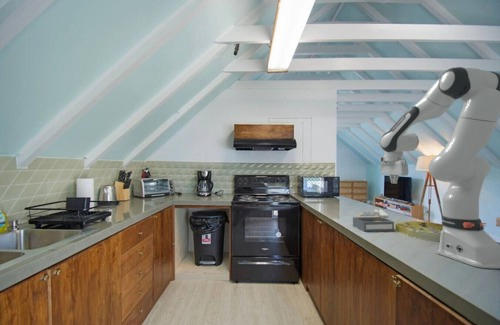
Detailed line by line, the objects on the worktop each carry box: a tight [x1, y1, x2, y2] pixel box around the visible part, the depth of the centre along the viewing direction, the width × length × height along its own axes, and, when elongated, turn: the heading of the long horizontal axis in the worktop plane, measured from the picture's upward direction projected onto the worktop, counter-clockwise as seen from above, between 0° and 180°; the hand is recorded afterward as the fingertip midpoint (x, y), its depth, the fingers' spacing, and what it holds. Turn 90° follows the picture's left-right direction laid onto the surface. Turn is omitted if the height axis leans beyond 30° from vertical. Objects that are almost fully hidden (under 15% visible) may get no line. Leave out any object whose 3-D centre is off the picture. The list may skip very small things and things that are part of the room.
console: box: [352, 215, 395, 233], centre depth 145 cm, size 14×16×5 cm
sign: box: [394, 220, 443, 242], centre depth 133 cm, size 28×3×30 cm
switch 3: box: [373, 208, 389, 219], centre depth 145 cm, size 8×4×2 cm, turn 2°
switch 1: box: [356, 211, 371, 217], centre depth 145 cm, size 8×4×2 cm, turn 2°
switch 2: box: [366, 211, 380, 217], centre depth 145 cm, size 8×4×2 cm, turn 2°
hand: (394, 183), depth 143 cm, fingers closed
